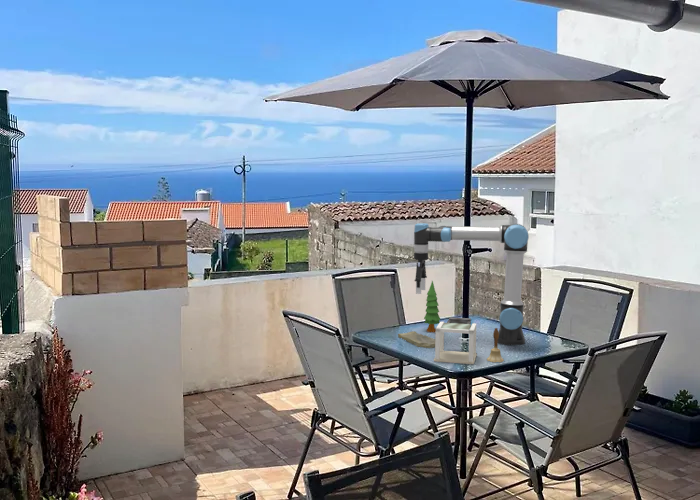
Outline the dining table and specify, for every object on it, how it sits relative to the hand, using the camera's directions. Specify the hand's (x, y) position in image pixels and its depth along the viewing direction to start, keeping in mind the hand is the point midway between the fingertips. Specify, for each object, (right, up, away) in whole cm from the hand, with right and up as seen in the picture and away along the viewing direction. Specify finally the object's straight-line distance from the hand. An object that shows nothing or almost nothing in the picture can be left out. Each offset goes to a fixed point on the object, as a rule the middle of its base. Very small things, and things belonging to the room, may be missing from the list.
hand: (420, 291), depth 368 cm
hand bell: (+33, -31, -34) cm, 57 cm away
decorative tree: (+10, -25, +31) cm, 41 cm away
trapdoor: (+16, -16, -26) cm, 35 cm away
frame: (+14, -31, -31) cm, 46 cm away
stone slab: (0, -28, +4) cm, 28 cm away
